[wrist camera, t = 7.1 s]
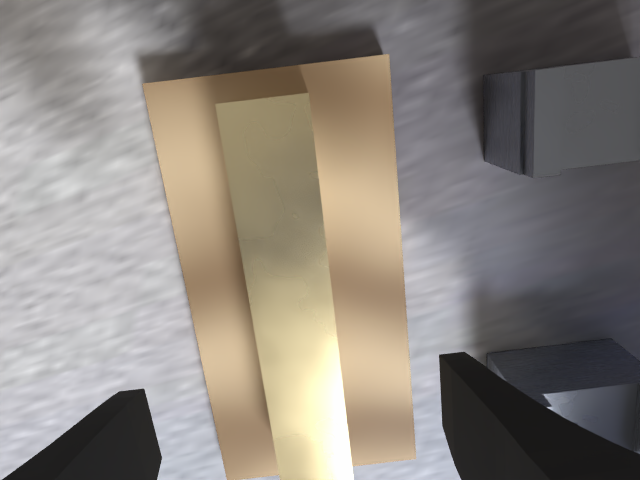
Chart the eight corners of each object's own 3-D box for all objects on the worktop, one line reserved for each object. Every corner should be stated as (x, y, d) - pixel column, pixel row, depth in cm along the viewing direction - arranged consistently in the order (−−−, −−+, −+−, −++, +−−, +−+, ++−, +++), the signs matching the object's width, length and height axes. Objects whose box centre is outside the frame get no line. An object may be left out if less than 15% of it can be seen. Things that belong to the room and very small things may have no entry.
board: (411, 442, 21) (416, 459, 20) (230, 463, 21) (227, 481, 20) (384, 56, 16) (389, 54, 15) (151, 84, 16) (142, 83, 15)
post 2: (607, 400, 21) (669, 463, 17) (487, 414, 21) (525, 479, 17) (611, 338, 20) (677, 391, 16) (487, 353, 20) (526, 409, 16)
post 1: (626, 144, 18) (707, 157, 14) (484, 161, 18) (530, 178, 14) (632, 57, 17) (721, 47, 13) (483, 75, 17) (531, 70, 13)
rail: (349, 444, 20) (355, 494, 17) (286, 451, 20) (284, 503, 17) (308, 92, 16) (308, 92, 13) (229, 101, 16) (215, 103, 13)
